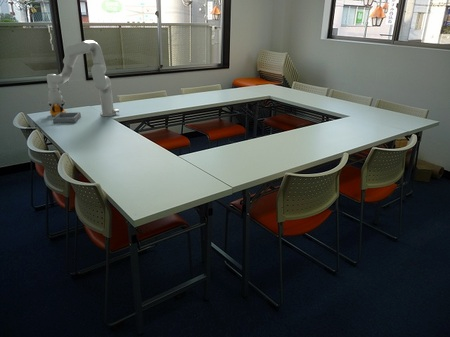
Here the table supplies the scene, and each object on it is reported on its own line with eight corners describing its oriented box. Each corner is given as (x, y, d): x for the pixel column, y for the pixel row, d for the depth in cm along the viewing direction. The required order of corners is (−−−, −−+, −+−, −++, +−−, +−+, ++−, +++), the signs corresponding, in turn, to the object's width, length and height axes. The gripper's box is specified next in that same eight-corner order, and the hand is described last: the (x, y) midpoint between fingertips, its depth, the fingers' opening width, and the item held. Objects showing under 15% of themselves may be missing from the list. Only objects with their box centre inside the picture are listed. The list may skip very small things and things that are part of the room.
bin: (81, 117, 295) (80, 112, 294) (75, 122, 280) (74, 117, 279) (60, 117, 294) (59, 112, 292) (53, 123, 279) (52, 118, 277)
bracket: (53, 116, 296) (50, 102, 291) (50, 115, 301) (47, 100, 296) (66, 114, 302) (64, 100, 297) (64, 112, 307) (61, 98, 302)
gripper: (66, 88, 297) (70, 110, 305) (44, 88, 295) (48, 110, 303) (63, 90, 290) (67, 112, 298) (41, 90, 289) (45, 112, 296)
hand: (58, 111), depth 300 cm, fingers open, 5 cm apart
